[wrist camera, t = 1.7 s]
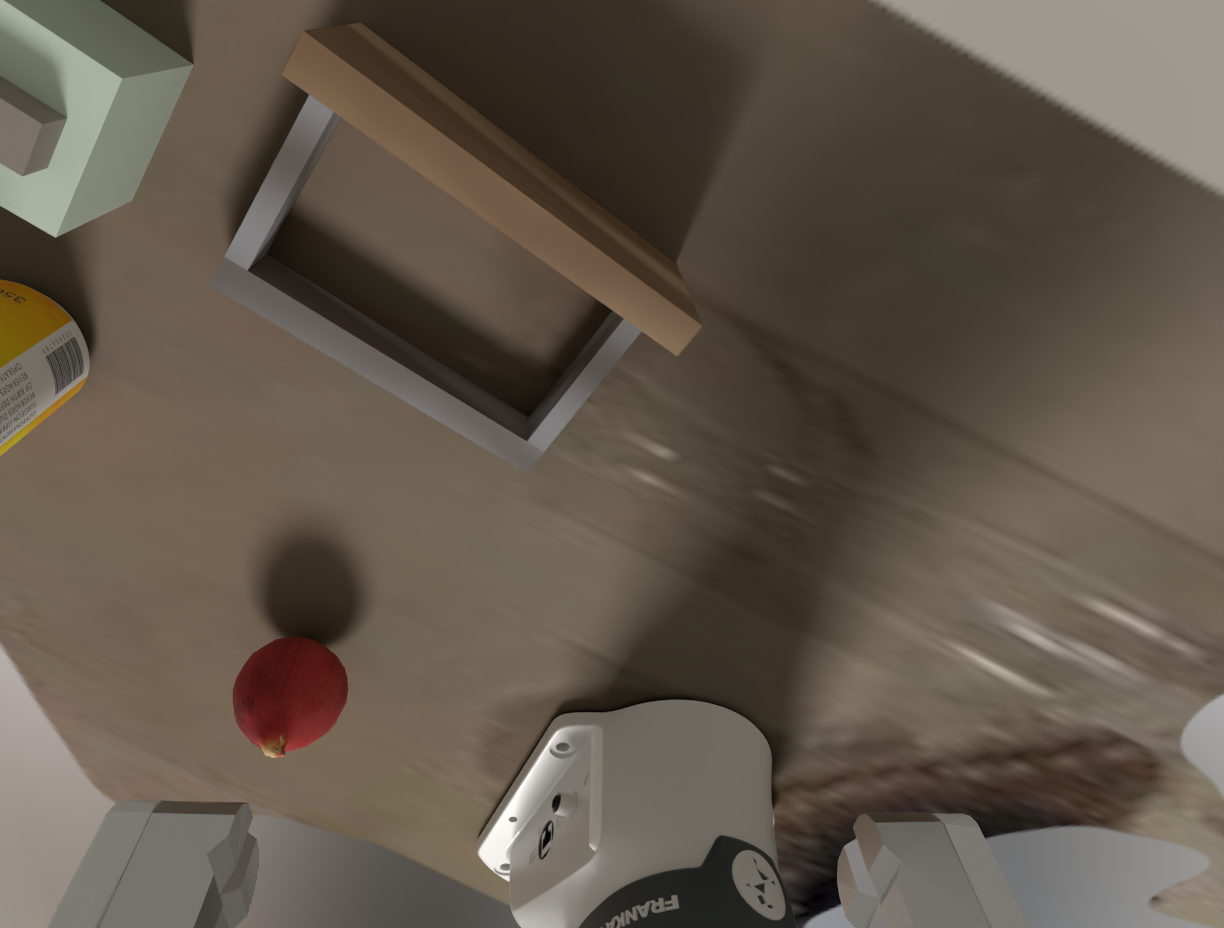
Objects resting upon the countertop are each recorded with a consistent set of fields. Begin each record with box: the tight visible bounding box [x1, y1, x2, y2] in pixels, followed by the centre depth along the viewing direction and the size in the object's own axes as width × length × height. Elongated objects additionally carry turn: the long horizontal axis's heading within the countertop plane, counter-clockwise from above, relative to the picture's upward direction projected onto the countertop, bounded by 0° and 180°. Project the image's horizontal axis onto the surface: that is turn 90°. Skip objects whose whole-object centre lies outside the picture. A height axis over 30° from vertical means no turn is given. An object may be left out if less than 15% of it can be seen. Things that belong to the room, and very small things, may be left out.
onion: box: [233, 636, 348, 758], centre depth 43 cm, size 6×6×8 cm
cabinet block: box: [0, 0, 193, 238], centre depth 29 cm, size 6×5×8 cm
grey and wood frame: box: [210, 23, 703, 474], centre depth 32 cm, size 12×16×8 cm
